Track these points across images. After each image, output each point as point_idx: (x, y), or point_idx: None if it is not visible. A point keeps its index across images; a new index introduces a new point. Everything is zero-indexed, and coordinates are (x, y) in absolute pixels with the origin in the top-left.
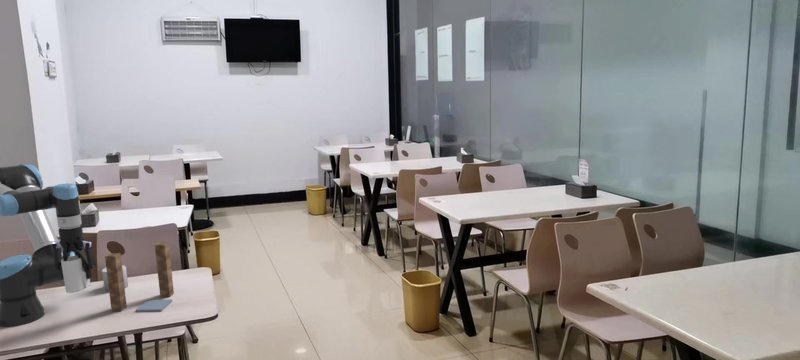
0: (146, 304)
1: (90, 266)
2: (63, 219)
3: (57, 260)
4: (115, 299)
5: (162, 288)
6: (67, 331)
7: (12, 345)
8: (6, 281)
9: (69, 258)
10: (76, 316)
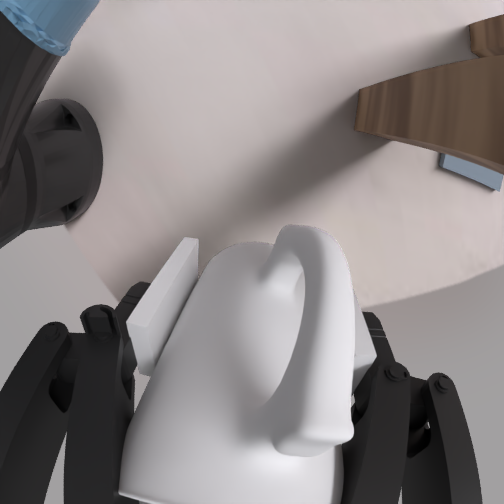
0: None
1: (410, 431)
2: None
3: (57, 446)
4: (395, 139)
5: (498, 53)
6: None
7: None
8: None
9: (134, 475)
10: (224, 156)
